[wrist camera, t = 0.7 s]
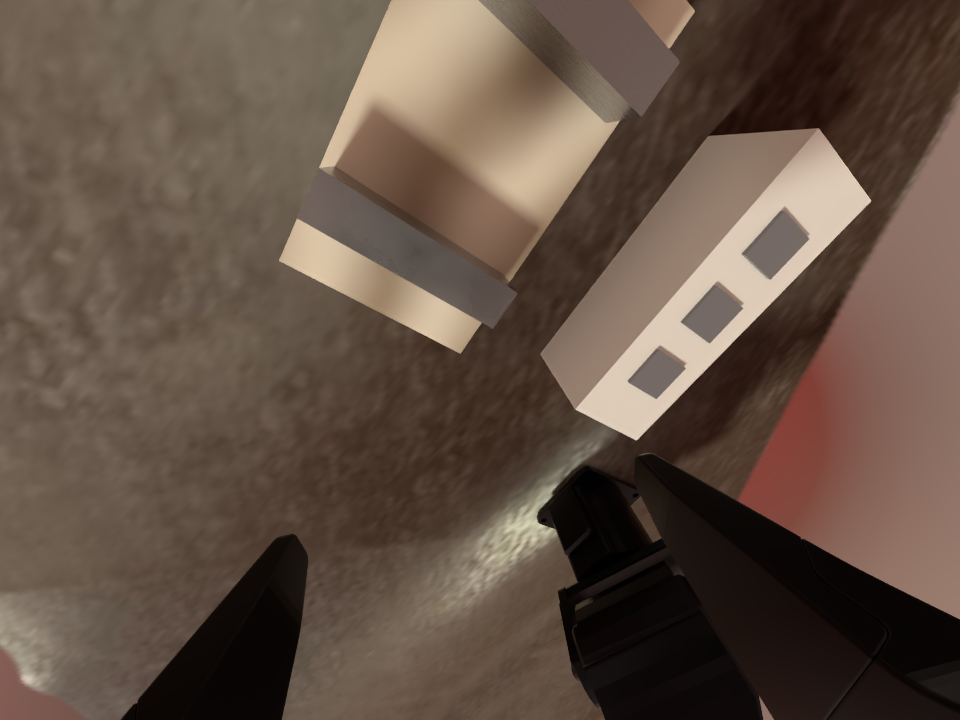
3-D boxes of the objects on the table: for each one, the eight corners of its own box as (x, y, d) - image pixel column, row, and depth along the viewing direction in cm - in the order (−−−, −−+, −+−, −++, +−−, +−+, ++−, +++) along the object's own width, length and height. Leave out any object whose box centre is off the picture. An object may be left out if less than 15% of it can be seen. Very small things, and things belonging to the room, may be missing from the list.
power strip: (754, 189, 20) (876, 201, 15) (590, 381, 25) (638, 443, 19) (705, 136, 19) (824, 127, 13) (539, 352, 23) (576, 411, 18)
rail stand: (679, 19, 16) (753, -20, 12) (458, 345, 22) (467, 381, 18) (491, -218, 12) (523, -369, 9) (285, 255, 18) (254, 279, 14)
